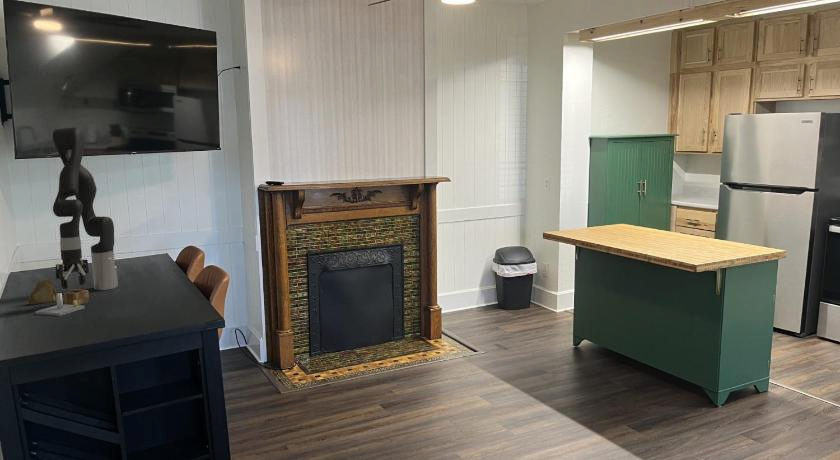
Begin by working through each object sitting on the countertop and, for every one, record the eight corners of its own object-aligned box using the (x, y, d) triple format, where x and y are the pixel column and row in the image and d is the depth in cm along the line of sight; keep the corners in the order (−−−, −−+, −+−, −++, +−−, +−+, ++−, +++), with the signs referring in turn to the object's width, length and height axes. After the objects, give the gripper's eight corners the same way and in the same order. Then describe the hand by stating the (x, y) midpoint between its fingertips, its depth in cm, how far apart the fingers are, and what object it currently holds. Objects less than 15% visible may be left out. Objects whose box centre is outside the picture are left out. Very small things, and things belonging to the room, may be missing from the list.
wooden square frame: (77, 300, 265) (76, 289, 265) (89, 301, 264) (88, 290, 263) (64, 304, 259) (63, 292, 259) (76, 305, 258) (75, 293, 257)
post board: (61, 306, 256) (59, 289, 255) (84, 308, 253) (83, 291, 252) (35, 313, 245) (33, 296, 244) (59, 315, 242) (58, 298, 241)
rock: (22, 301, 257) (48, 296, 258) (23, 282, 260) (49, 278, 262) (34, 311, 266) (59, 306, 268) (35, 293, 270) (60, 288, 272)
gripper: (78, 245, 266) (80, 282, 268) (48, 250, 253) (51, 289, 255) (91, 245, 264) (94, 283, 266) (63, 250, 250) (66, 290, 252)
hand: (73, 286), depth 260 cm, fingers open, 8 cm apart
